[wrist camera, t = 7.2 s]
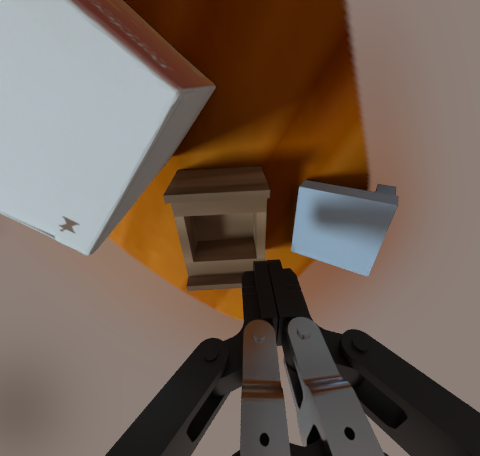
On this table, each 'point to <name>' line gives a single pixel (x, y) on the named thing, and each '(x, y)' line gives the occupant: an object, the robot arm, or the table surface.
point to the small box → (87, 114)
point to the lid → (342, 224)
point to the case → (219, 223)
